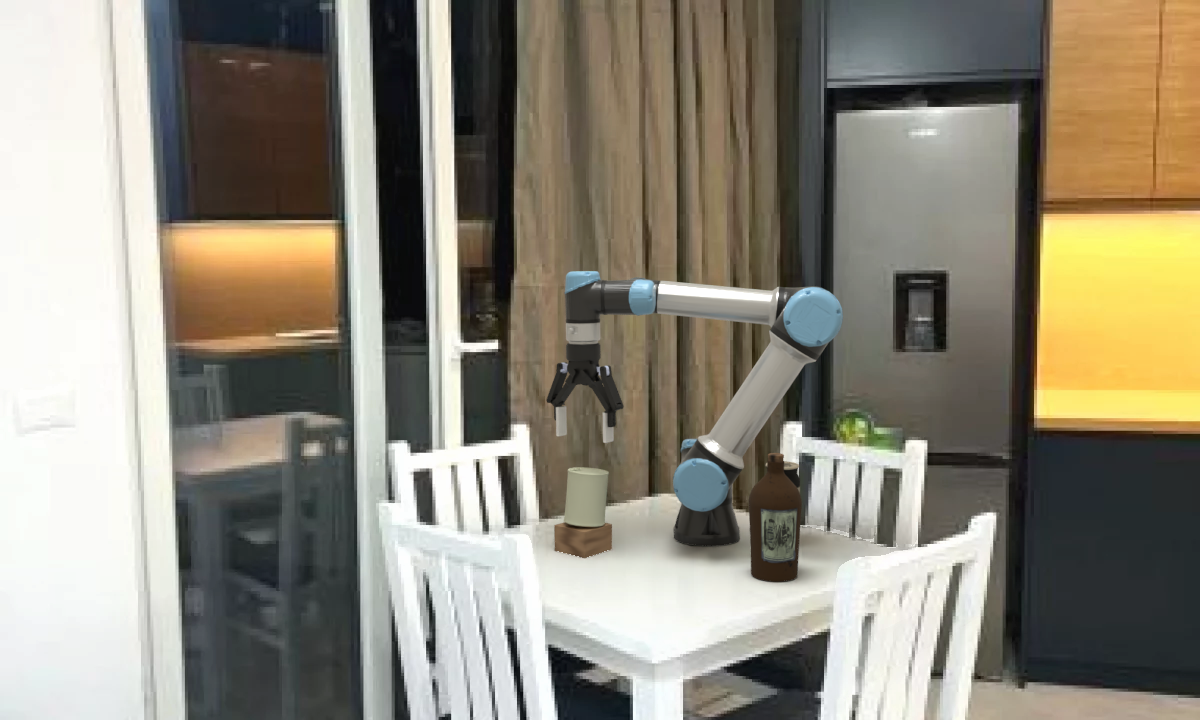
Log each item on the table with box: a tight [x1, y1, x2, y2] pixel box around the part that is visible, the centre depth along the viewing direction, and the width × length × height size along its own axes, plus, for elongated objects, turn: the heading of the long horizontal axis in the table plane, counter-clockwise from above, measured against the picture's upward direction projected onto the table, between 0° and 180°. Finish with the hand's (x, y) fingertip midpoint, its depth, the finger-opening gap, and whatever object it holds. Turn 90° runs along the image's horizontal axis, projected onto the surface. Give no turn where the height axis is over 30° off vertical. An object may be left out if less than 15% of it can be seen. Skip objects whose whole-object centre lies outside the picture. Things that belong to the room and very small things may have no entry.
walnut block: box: [553, 521, 613, 559], centre depth 237 cm, size 9×9×6 cm
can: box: [563, 466, 610, 527], centre depth 236 cm, size 9×9×12 cm
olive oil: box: [748, 452, 803, 583], centre depth 217 cm, size 11×11×25 cm
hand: (584, 438), depth 235 cm, fingers open, 13 cm apart
